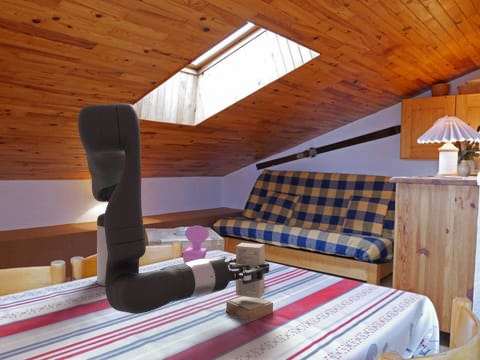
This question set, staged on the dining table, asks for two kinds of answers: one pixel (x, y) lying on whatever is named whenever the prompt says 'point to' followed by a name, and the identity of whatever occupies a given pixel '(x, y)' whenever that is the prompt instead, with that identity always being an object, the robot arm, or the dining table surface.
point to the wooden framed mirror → (249, 307)
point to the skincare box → (251, 256)
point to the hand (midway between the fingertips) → (256, 264)
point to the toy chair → (195, 243)
